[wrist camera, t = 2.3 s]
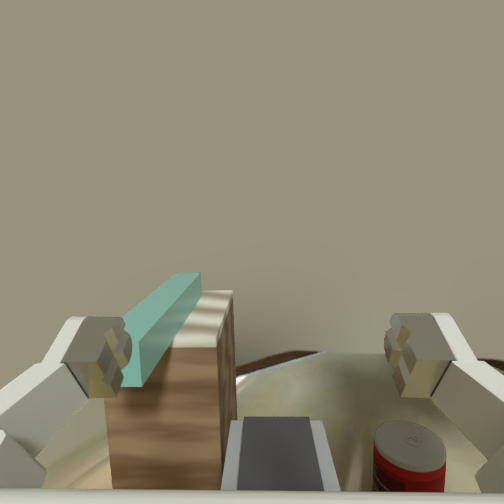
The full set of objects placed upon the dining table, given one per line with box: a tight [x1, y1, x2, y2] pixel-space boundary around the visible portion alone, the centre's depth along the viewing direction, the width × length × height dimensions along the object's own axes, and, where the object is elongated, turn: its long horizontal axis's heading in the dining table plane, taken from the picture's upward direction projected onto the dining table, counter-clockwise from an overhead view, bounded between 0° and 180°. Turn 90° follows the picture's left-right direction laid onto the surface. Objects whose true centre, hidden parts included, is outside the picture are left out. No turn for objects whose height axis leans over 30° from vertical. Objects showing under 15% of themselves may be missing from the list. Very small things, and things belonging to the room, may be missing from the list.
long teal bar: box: [121, 273, 202, 387], centre depth 36 cm, size 24×4×4 cm, turn 178°
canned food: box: [372, 421, 446, 492], centre depth 40 cm, size 8×8×11 cm
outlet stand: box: [104, 290, 237, 490], centre depth 45 cm, size 18×12×26 cm, turn 178°
